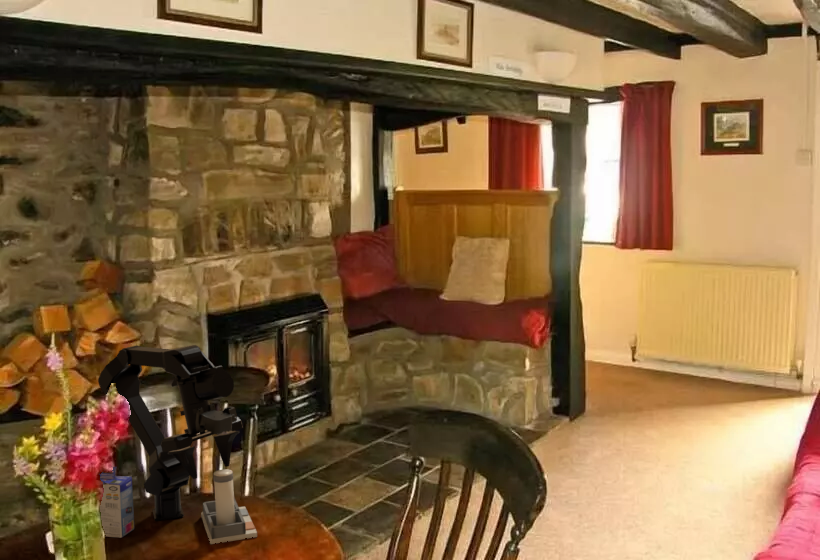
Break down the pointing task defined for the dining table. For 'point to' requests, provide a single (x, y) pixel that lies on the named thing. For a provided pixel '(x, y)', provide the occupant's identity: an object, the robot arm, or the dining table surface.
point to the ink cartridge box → (117, 504)
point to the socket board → (230, 531)
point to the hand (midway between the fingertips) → (211, 472)
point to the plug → (224, 497)
